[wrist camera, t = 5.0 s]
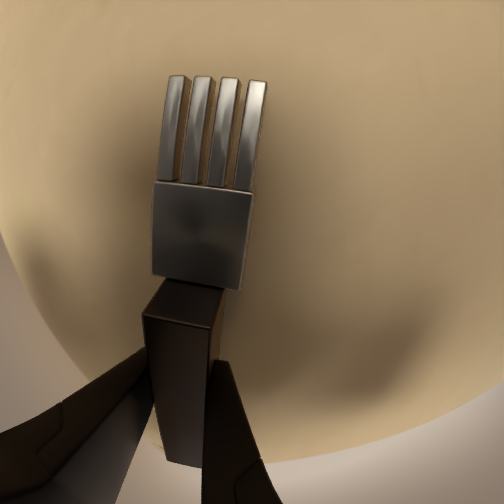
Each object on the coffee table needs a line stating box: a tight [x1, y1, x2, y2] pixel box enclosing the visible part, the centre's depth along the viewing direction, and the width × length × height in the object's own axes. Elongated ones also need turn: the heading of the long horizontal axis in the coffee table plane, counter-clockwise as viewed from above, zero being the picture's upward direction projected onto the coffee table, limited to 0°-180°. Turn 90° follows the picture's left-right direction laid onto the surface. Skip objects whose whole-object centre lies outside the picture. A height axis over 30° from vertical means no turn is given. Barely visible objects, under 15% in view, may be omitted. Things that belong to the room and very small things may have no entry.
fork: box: [142, 75, 268, 469], centre depth 7 cm, size 13×2×2 cm, turn 172°
